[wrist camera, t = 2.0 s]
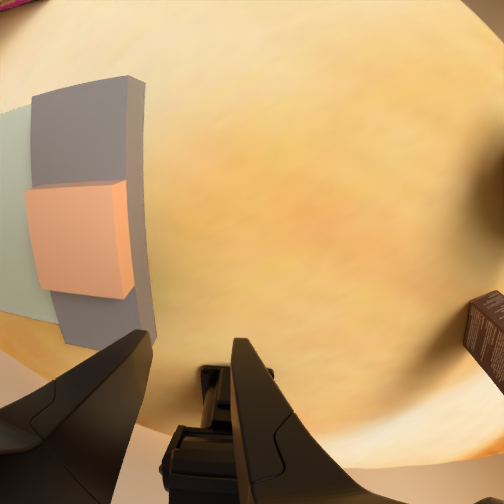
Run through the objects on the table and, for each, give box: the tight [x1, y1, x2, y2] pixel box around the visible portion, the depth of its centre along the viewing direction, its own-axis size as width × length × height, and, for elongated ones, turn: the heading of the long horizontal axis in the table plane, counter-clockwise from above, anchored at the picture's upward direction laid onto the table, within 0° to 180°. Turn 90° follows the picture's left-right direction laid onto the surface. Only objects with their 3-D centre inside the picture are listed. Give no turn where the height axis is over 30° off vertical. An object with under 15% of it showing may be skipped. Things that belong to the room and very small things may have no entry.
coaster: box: [24, 180, 135, 299], centre depth 17 cm, size 7×7×2 cm
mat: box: [0, 104, 59, 324], centre depth 20 cm, size 20×12×1 cm, turn 177°
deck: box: [30, 75, 157, 351], centre depth 19 cm, size 20×8×3 cm, turn 177°
